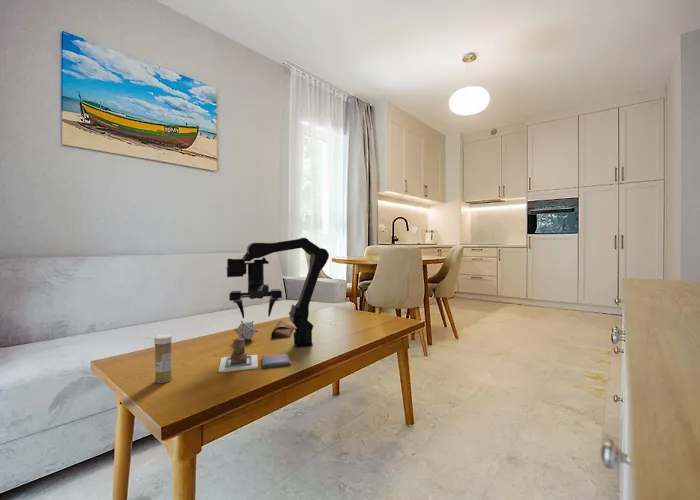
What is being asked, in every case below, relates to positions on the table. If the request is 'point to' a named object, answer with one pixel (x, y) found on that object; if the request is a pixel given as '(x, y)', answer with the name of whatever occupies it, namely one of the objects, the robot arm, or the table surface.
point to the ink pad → (275, 361)
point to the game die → (246, 330)
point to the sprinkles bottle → (163, 358)
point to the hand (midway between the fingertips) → (256, 317)
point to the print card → (226, 364)
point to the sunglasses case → (282, 330)
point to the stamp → (238, 352)
